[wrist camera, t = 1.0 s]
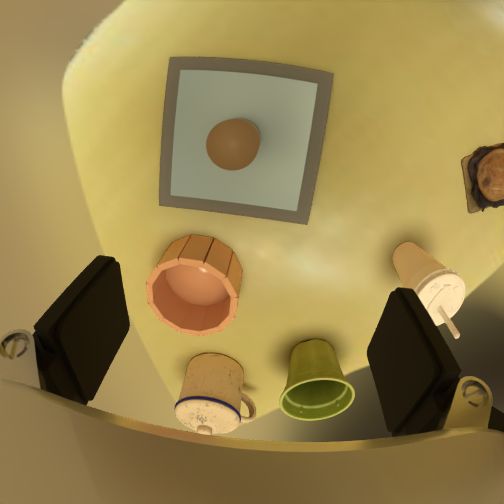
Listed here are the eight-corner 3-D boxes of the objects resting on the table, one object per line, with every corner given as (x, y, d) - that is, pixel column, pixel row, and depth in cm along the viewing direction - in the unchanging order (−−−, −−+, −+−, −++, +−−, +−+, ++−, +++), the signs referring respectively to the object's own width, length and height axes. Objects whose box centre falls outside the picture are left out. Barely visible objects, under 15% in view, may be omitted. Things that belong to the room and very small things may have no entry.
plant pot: (268, 365, 42) (267, 413, 34) (297, 321, 37) (301, 371, 30) (323, 379, 43) (329, 424, 35) (356, 338, 39) (369, 386, 31)
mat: (171, 57, 24) (169, 56, 24) (332, 74, 24) (333, 73, 24) (160, 204, 31) (158, 205, 31) (306, 223, 31) (307, 224, 31)
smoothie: (377, 278, 34) (418, 361, 22) (387, 229, 31) (445, 302, 19) (420, 278, 34) (470, 353, 21) (433, 232, 31) (497, 299, 18)
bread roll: (465, 215, 30) (480, 227, 27) (456, 152, 27) (474, 158, 23) (516, 194, 28) (532, 203, 24) (511, 136, 24) (528, 141, 21)
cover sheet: (182, 70, 24) (158, 61, 18) (316, 84, 24) (330, 76, 19) (172, 193, 30) (149, 214, 24) (296, 209, 30) (302, 234, 24)
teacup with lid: (178, 372, 44) (160, 432, 33) (202, 341, 40) (185, 408, 30) (242, 400, 46) (236, 459, 36) (273, 374, 43) (271, 439, 32)
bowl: (161, 230, 33) (143, 252, 28) (246, 241, 33) (241, 266, 28) (163, 299, 37) (150, 326, 32) (237, 311, 37) (232, 340, 32)
